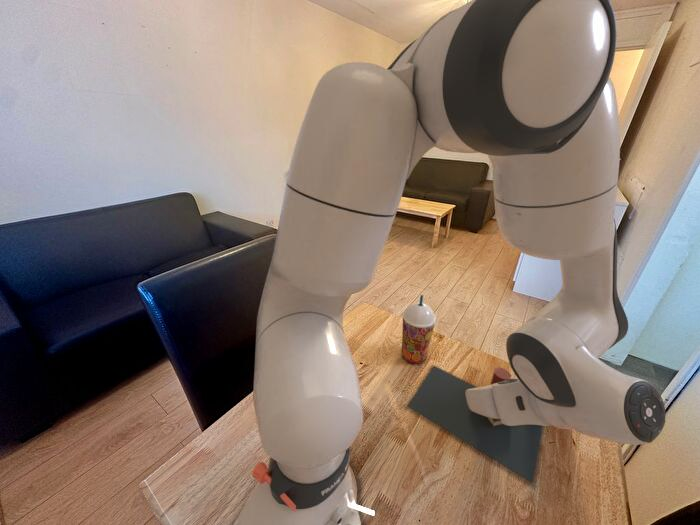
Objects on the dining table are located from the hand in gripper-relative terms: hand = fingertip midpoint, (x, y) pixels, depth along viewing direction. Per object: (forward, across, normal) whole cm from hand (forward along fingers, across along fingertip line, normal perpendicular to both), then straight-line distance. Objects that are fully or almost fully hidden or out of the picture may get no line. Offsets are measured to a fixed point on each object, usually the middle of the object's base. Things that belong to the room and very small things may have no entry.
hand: (494, 388), depth 62 cm
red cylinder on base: (+3, 0, +5) cm, 6 cm away
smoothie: (+18, +10, -8) cm, 22 cm away
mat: (+4, +4, +5) cm, 8 cm away
